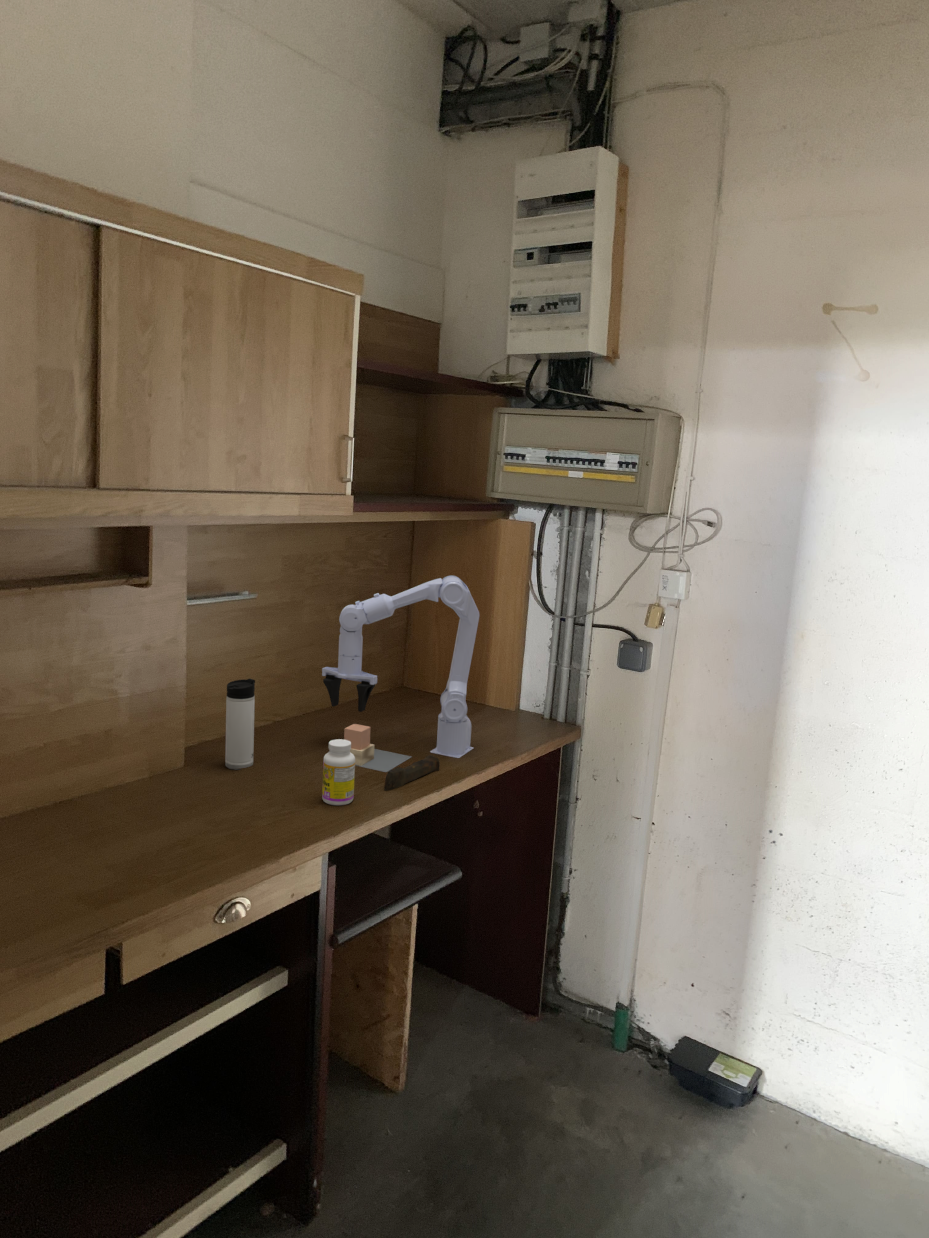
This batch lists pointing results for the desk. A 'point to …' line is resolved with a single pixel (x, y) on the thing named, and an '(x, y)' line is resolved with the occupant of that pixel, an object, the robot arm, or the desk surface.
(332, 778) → the supplement bottle
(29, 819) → the desk surface
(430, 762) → the hand tool
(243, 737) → the travel mug
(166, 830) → the desk surface
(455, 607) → the robot arm
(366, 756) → the beech block
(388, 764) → the rubber mat
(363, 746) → the terracotta cube
